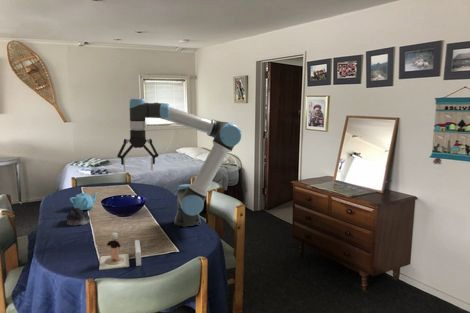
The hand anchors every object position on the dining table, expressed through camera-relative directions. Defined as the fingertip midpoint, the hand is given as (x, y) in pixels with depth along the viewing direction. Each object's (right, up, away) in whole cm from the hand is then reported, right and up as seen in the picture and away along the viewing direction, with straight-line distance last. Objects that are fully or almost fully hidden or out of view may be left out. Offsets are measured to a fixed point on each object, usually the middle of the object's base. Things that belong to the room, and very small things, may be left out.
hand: (138, 170), depth 182 cm
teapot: (-47, -27, +45) cm, 70 cm away
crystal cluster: (-41, -31, +21) cm, 55 cm away
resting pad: (-3, -39, -26) cm, 47 cm away
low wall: (+6, -39, -22) cm, 45 cm away
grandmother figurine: (-3, -39, -26) cm, 47 cm away
